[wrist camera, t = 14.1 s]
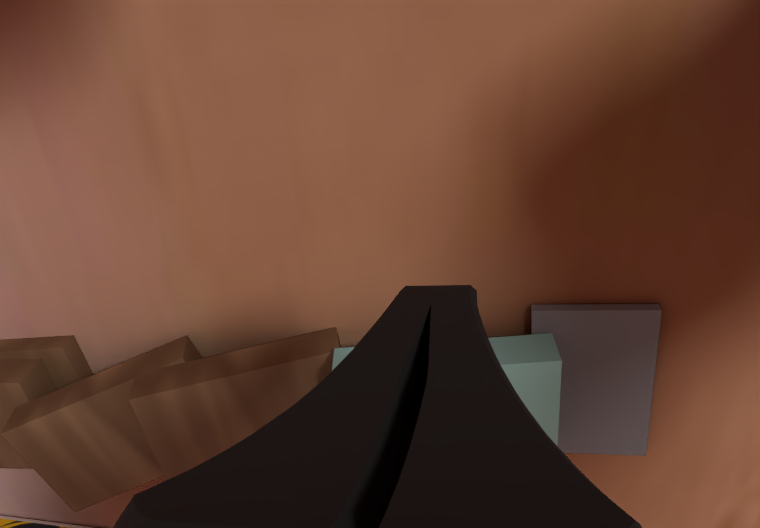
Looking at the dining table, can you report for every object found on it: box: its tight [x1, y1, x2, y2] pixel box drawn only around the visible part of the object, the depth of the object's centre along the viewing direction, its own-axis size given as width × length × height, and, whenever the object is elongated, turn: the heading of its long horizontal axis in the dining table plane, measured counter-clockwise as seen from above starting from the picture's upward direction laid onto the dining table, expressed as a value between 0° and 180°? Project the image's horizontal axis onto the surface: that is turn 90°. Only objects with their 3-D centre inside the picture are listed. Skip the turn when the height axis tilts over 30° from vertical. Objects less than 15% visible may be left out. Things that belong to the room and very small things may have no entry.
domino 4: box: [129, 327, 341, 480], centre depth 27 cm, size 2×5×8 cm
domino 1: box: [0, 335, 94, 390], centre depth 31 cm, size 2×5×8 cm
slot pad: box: [531, 304, 662, 456], centre depth 25 cm, size 4×7×1 cm, turn 6°
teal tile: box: [332, 333, 562, 446], centre depth 25 cm, size 2×5×8 cm
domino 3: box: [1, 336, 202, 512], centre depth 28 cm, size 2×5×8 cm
